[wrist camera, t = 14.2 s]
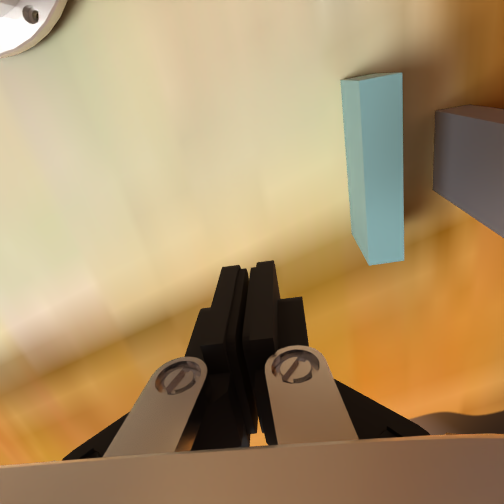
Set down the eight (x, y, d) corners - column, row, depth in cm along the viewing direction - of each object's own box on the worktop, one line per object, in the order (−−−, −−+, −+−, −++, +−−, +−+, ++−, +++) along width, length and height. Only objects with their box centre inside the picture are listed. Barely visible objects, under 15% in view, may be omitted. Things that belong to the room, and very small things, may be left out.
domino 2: (432, 189, 24) (529, 255, 15) (435, 110, 22) (549, 133, 13) (464, 185, 24) (581, 248, 15) (469, 104, 22) (609, 123, 13)
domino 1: (340, 80, 22) (351, 232, 26) (359, 80, 17) (369, 265, 22) (374, 73, 22) (380, 228, 26) (402, 72, 17) (403, 260, 21)
